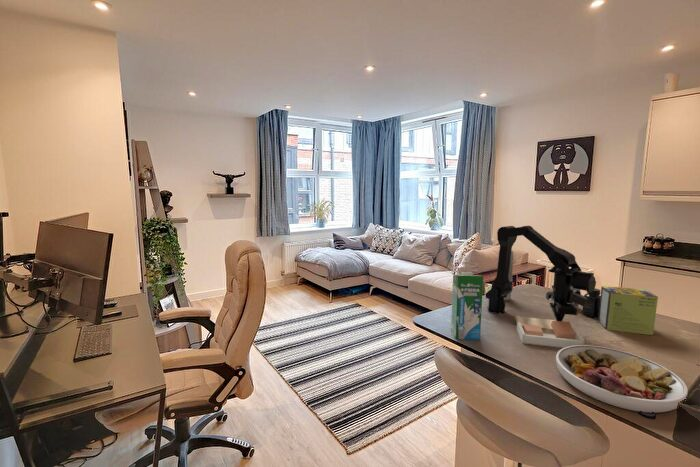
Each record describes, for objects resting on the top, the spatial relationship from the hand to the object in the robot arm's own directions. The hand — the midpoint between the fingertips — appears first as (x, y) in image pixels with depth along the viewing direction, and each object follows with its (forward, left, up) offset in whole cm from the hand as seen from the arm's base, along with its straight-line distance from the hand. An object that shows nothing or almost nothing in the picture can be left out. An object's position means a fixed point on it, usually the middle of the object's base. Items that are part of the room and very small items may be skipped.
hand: (558, 323), depth 134 cm
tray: (-5, -8, -4) cm, 10 cm away
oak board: (-5, +3, -4) cm, 7 cm away
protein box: (+27, +13, -4) cm, 30 cm away
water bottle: (-15, +36, -4) cm, 39 cm away
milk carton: (-35, -12, -4) cm, 37 cm away
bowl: (+6, -34, -4) cm, 35 cm away
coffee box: (+12, +35, -4) cm, 37 cm away
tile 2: (0, -3, -2) cm, 4 cm away
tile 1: (-10, -6, -3) cm, 12 cm away
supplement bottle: (+19, +24, -4) cm, 31 cm away
